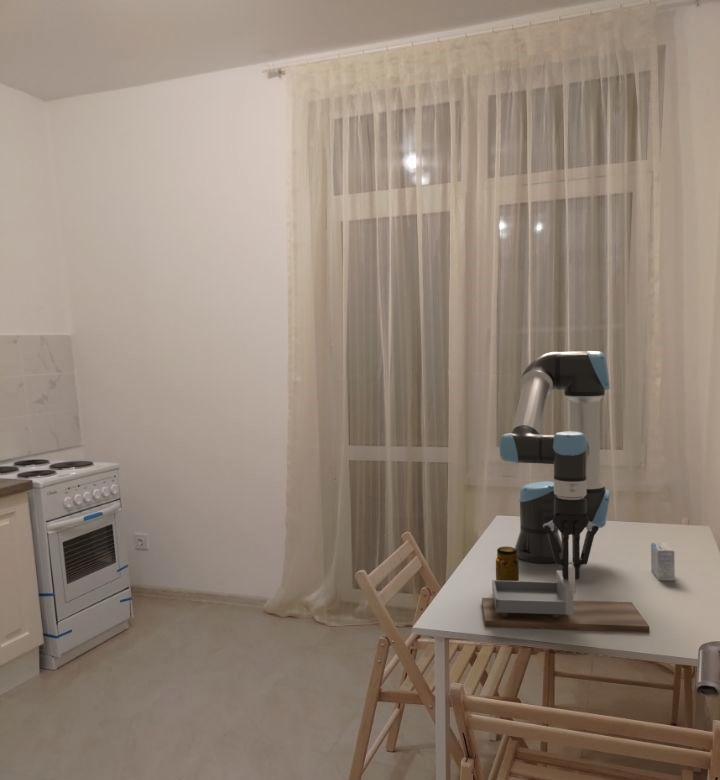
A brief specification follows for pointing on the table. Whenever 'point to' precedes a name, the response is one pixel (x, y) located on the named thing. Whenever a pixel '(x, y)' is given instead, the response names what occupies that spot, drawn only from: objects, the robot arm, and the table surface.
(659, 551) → the medicine box
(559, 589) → the cart
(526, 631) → the table surface
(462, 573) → the table surface
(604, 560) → the table surface
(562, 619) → the rail board
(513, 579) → the condiment
